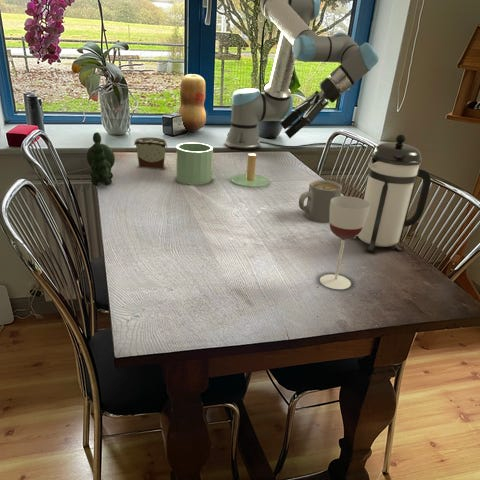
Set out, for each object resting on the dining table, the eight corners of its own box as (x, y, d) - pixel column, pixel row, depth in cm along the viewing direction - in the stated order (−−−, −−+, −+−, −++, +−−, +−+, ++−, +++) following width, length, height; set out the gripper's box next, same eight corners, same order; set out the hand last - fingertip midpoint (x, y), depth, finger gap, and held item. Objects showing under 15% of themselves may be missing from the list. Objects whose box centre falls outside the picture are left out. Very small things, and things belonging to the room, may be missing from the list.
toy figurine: (116, 196, 166) (115, 167, 185) (112, 139, 154) (111, 114, 173) (87, 196, 164) (89, 167, 183) (80, 138, 152) (83, 113, 171)
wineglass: (314, 273, 124) (327, 195, 113) (348, 274, 125) (364, 196, 114) (321, 289, 117) (335, 208, 106) (357, 290, 118) (375, 209, 107)
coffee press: (397, 261, 133) (428, 146, 116) (342, 245, 139) (363, 134, 123) (415, 240, 145) (445, 134, 129) (363, 226, 152) (385, 123, 136)
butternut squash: (188, 135, 235) (189, 77, 221) (172, 129, 243) (171, 73, 229) (211, 132, 243) (213, 76, 229) (195, 127, 251) (195, 72, 237)
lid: (254, 175, 189) (256, 147, 184) (276, 185, 180) (279, 157, 174) (223, 179, 182) (225, 151, 177) (245, 191, 173) (247, 161, 167)
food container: (170, 165, 193) (170, 138, 188) (167, 169, 188) (166, 142, 183) (139, 162, 194) (138, 135, 188) (135, 166, 189) (133, 139, 183)
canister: (200, 172, 187) (201, 141, 181) (218, 182, 179) (219, 150, 173) (170, 177, 181) (170, 144, 175) (187, 187, 173) (187, 153, 166)
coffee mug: (330, 210, 162) (335, 179, 157) (341, 222, 154) (347, 190, 149) (291, 210, 160) (295, 179, 154) (300, 222, 152) (304, 190, 146)
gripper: (349, 101, 156) (296, 148, 163) (333, 89, 177) (287, 131, 184) (335, 81, 152) (282, 130, 159) (321, 71, 173) (274, 115, 180)
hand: (284, 130), depth 172 cm, fingers open, 13 cm apart
